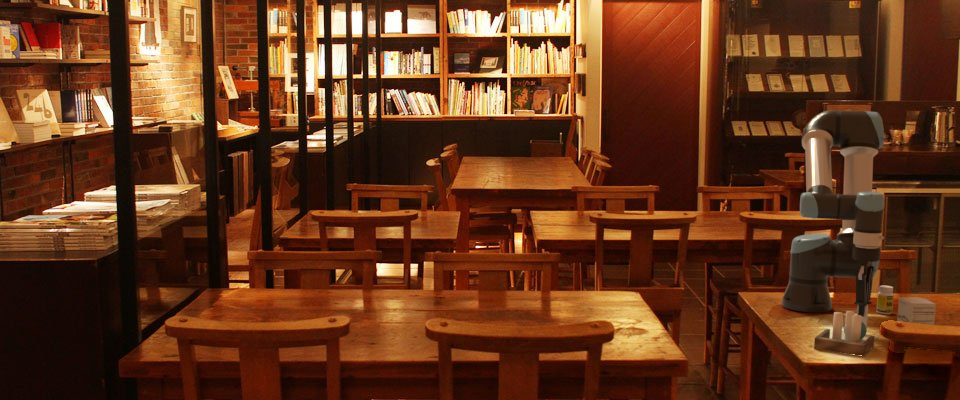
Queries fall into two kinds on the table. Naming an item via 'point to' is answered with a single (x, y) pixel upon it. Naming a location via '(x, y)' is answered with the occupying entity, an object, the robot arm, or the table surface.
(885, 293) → the supplement bottle
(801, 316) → the table surface
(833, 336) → the pin
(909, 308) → the supplement box
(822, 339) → the tray
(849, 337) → the pin front
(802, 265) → the robot arm
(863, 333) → the ball
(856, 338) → the pin
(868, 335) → the beige square tile
